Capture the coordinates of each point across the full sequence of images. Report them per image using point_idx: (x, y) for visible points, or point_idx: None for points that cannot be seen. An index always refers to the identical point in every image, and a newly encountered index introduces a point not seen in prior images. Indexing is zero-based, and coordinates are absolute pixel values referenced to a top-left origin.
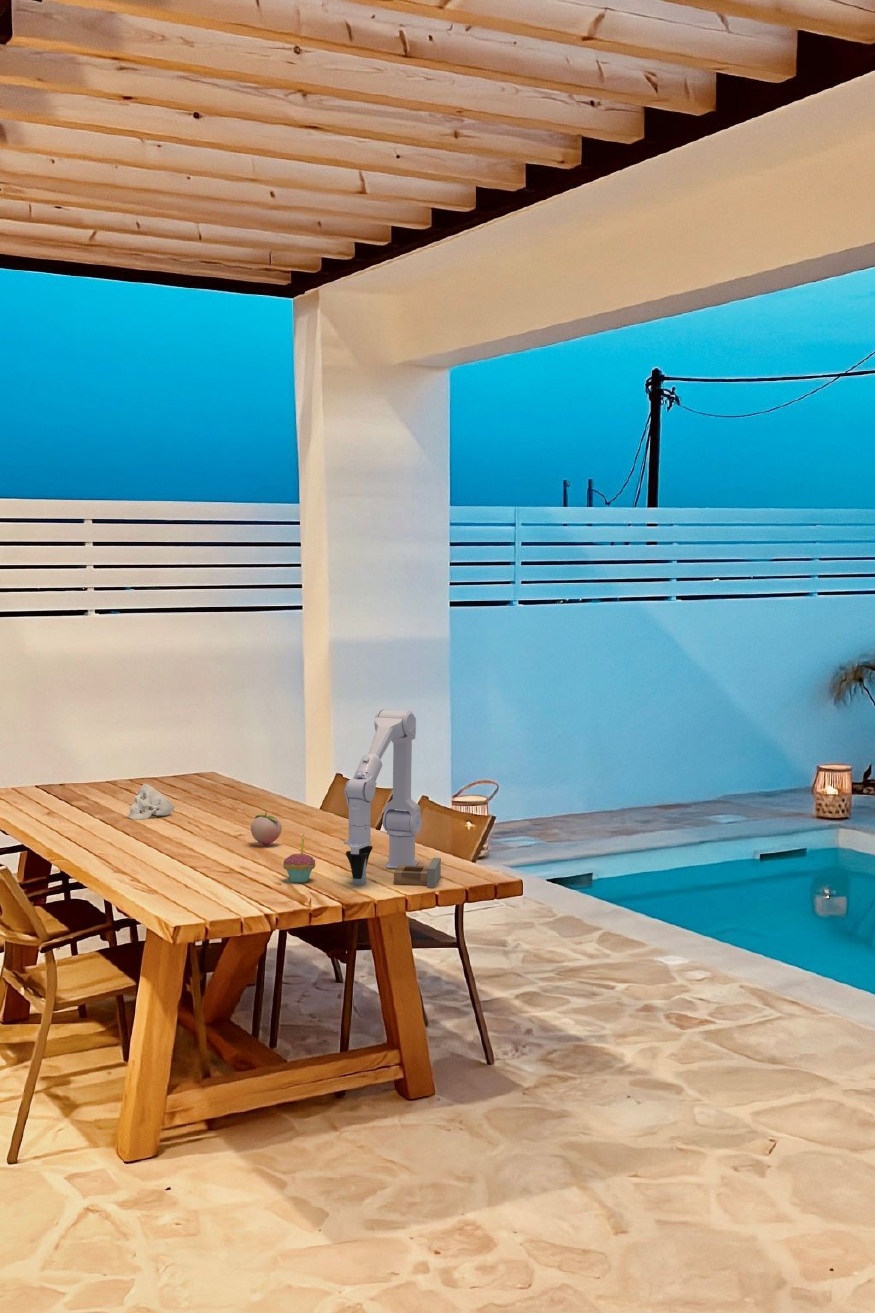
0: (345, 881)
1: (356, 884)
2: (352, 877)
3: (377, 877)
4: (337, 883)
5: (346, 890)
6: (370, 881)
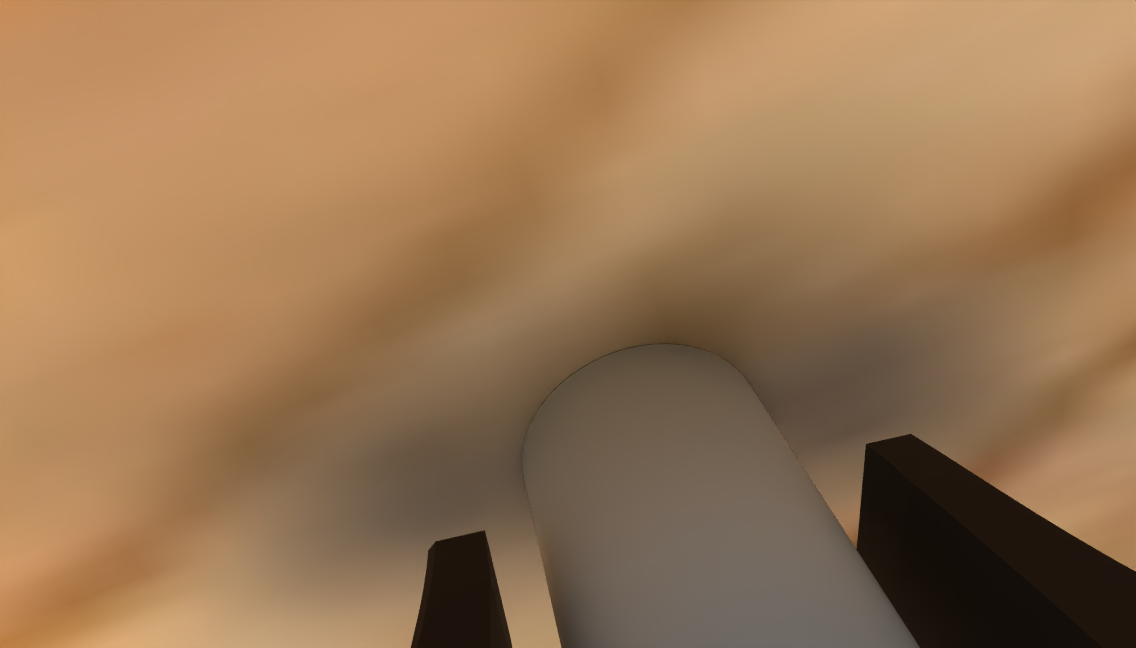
0: (797, 161)
1: (526, 462)
2: (609, 452)
3: (1108, 497)
4: (577, 67)
5: (35, 463)
6: (846, 516)
